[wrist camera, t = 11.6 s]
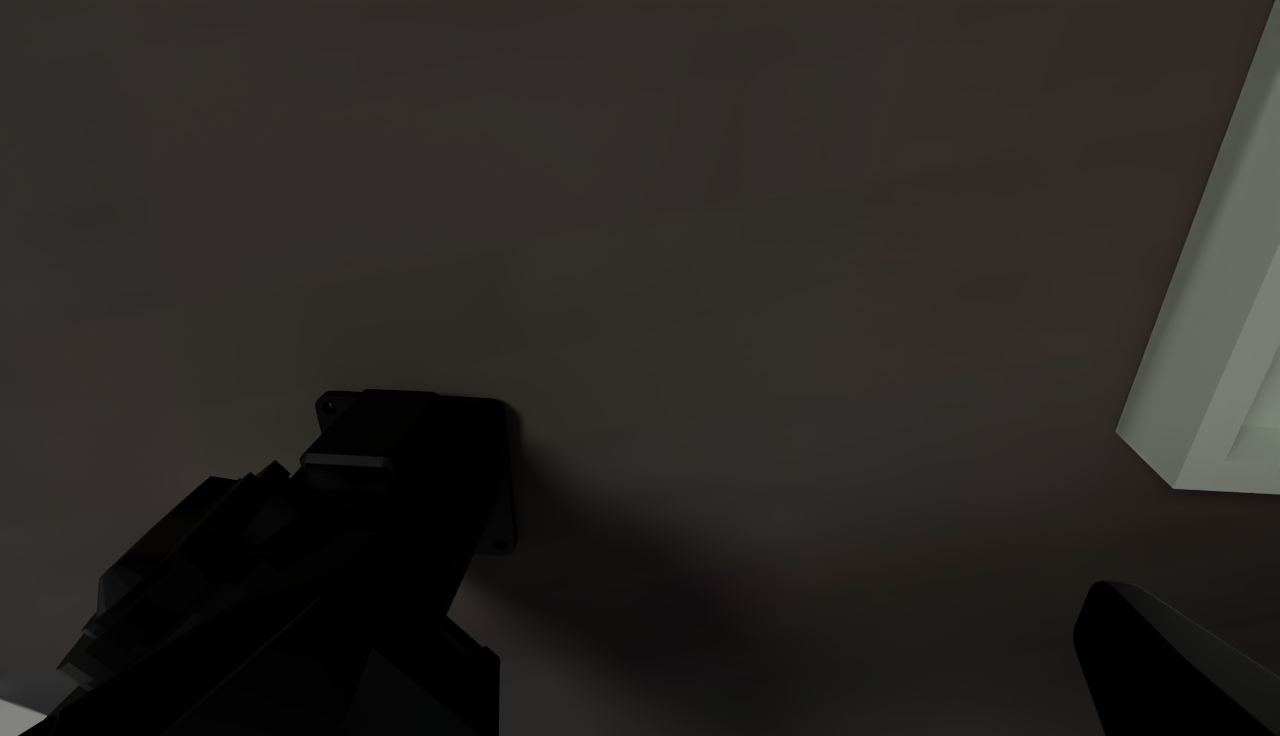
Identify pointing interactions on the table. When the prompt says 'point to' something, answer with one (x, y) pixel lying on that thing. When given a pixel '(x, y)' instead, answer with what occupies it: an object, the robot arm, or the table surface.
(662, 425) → the table surface
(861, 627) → the table surface
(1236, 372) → the tray
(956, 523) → the table surface
